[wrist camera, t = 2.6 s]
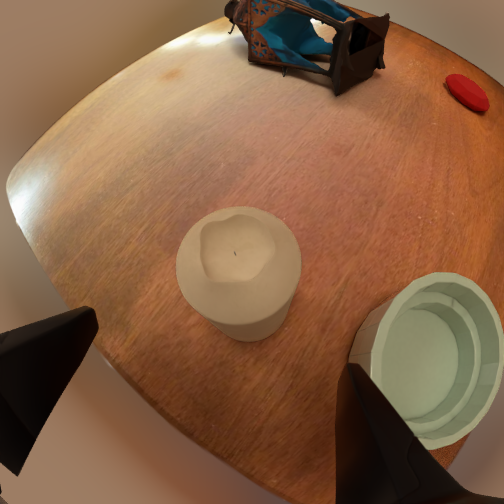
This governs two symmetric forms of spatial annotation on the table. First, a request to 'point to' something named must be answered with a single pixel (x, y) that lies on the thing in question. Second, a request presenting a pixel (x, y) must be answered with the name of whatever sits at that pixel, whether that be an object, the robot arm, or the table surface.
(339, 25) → the lantern
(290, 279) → the candle
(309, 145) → the table surface
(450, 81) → the gemstone
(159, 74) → the table surface
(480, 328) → the bowl
